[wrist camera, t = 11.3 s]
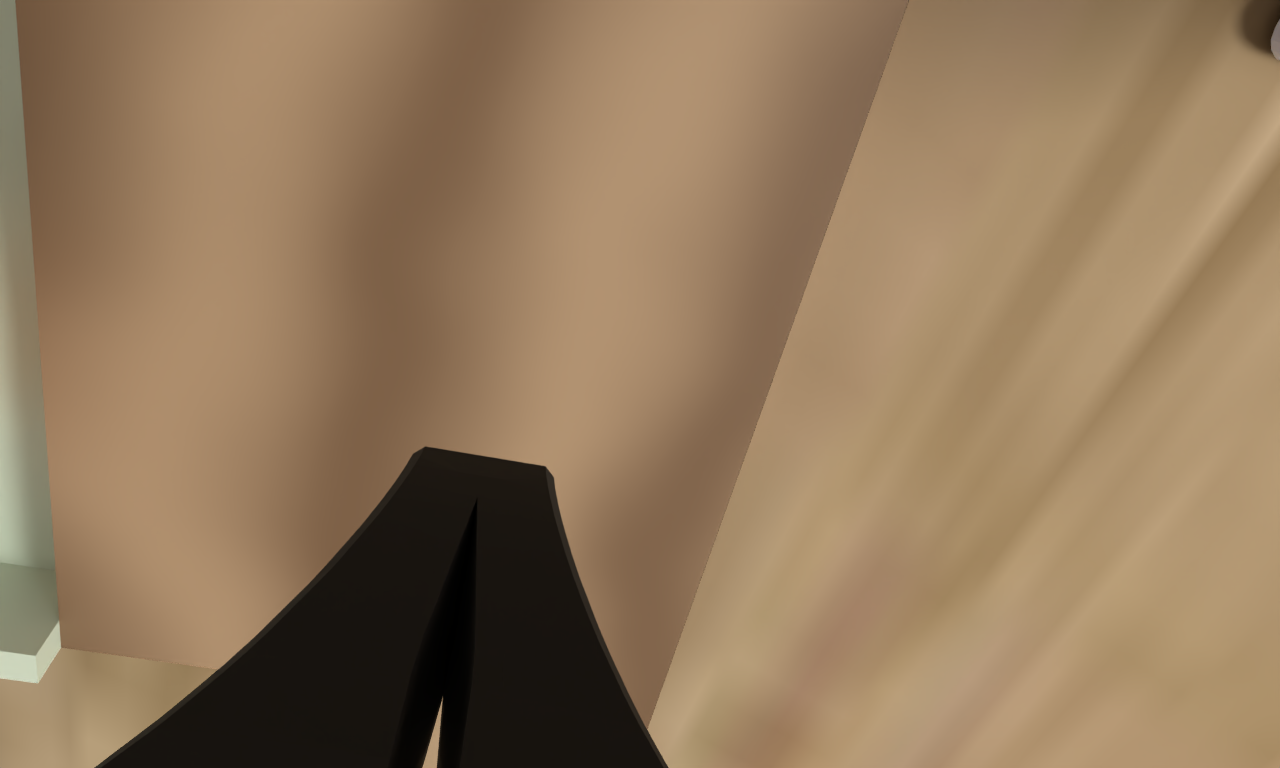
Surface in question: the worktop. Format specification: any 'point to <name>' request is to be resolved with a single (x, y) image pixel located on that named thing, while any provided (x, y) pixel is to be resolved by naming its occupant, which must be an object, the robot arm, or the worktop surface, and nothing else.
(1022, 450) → the worktop surface
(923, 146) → the worktop surface
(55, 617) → the tray
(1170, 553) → the worktop surface
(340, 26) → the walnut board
